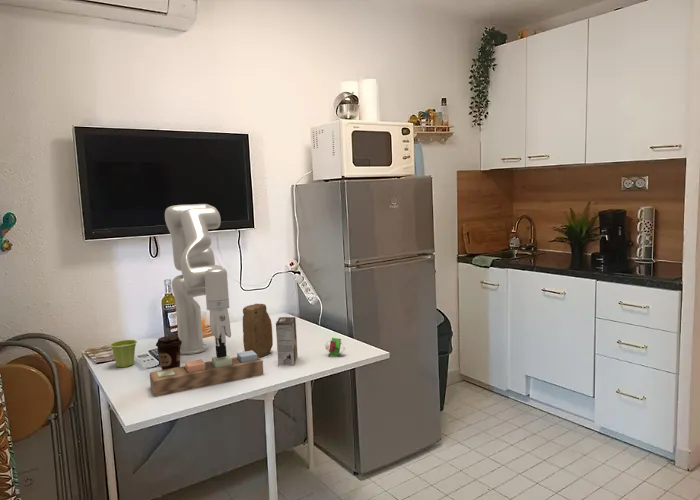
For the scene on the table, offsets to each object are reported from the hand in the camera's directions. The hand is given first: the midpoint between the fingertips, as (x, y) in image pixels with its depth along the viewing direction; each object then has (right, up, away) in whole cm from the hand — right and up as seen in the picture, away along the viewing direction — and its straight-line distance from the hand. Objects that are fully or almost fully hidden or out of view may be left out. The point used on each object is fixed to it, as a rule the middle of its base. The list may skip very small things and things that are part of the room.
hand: (221, 356), depth 181 cm
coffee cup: (-20, -8, +8) cm, 23 cm away
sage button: (0, -5, +1) cm, 5 cm away
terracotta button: (-8, -5, -3) cm, 10 cm away
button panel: (-4, -8, -1) cm, 9 cm away
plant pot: (-41, -7, +19) cm, 46 cm away
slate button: (+8, -4, +5) cm, 10 cm away
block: (+9, -5, +26) cm, 28 cm away
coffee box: (+21, -5, +16) cm, 27 cm away
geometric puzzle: (+39, -4, +22) cm, 45 cm away
